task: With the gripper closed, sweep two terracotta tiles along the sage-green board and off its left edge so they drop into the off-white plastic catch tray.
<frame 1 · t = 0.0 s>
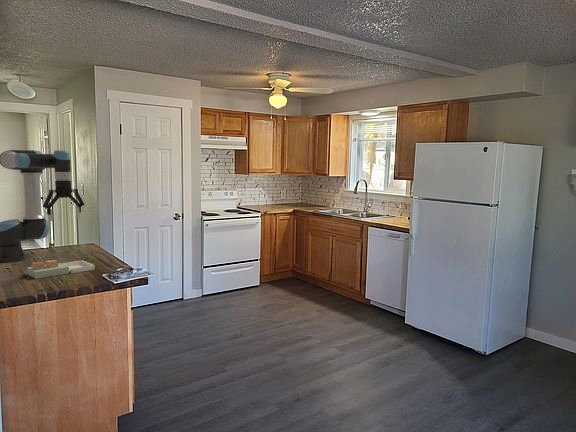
hand: (64, 219, 232), 28 cm above the worktop, fingers open, 13 cm apart
tray: (77, 268, 239), on the worktop
board: (48, 273, 229), on the worktop
tile near: (38, 268, 225), point 3 cm above the worktop, touching board
tile far: (52, 266, 230), point 3 cm above the worktop, touching board
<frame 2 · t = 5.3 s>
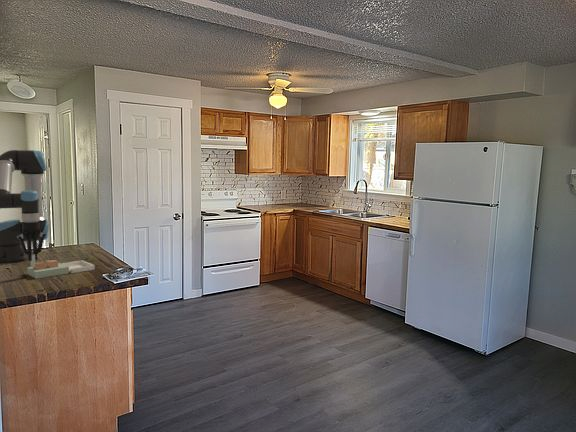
hand: (33, 266, 223), 5 cm above the worktop, fingers closed
tile near: (39, 268, 225), point 4 cm above the worktop, touching gripper
everything else where it was.
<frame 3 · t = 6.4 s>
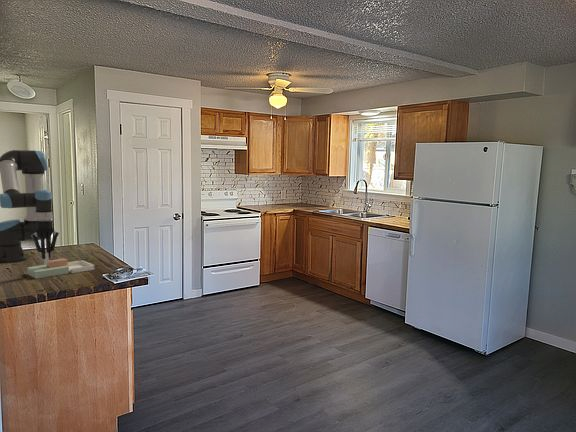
hand: (46, 264, 227), 5 cm above the worktop, fingers closed
tile near: (52, 266, 230), point 4 cm above the worktop, touching gripper
tile far: (61, 265, 233), point 4 cm above the worktop
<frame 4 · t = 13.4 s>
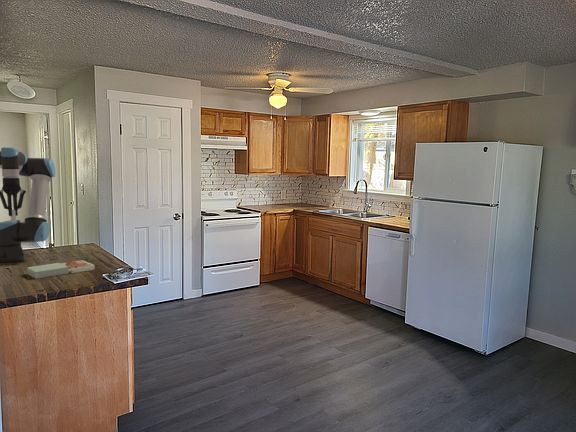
hand: (13, 222, 229), 26 cm above the worktop, fingers closed
tile near: (73, 265, 237), point 2 cm above the worktop, tilted 49°, touching tile far, tray
tile far: (79, 262, 240), point 3 cm above the worktop, tilted 180°, touching tile near, tray
at the end: tile near inside the target area on the tray (2.1 cm from its centre), point 2.2 cm above the tray's base; tile far inside the target area on the tray (1.4 cm from its centre), point 3.5 cm above the tray's base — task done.
